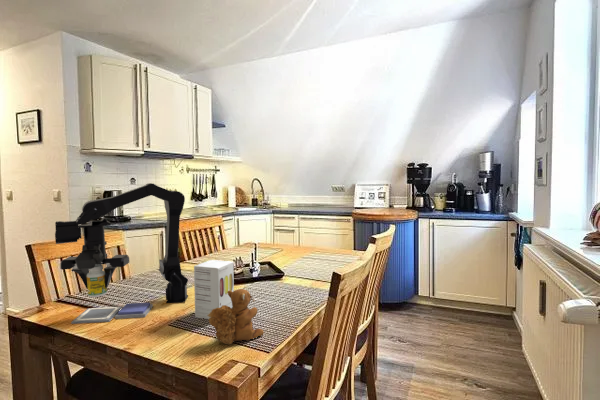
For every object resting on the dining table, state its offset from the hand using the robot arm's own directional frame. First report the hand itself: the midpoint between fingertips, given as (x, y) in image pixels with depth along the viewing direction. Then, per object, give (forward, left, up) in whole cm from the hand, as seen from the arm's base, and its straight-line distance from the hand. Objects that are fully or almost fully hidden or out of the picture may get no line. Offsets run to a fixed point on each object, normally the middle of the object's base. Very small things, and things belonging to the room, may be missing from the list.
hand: (97, 287), depth 114 cm
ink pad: (-11, -1, -9) cm, 14 cm away
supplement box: (-37, +4, -9) cm, 39 cm away
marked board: (0, 0, -9) cm, 9 cm away
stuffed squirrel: (-45, +22, -9) cm, 51 cm away
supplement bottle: (0, 0, -2) cm, 2 cm away
